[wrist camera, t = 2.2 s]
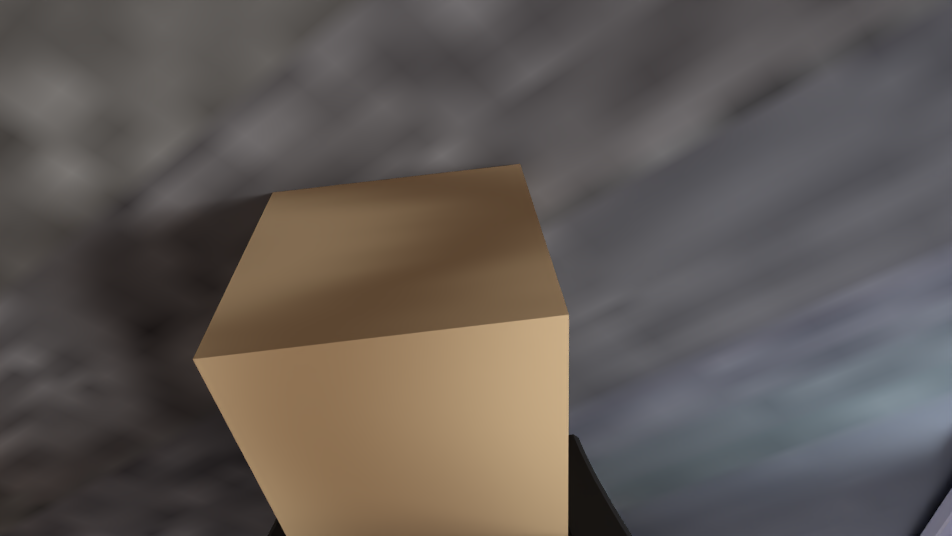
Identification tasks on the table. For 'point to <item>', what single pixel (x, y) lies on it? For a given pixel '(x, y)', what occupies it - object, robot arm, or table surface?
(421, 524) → the oak beam
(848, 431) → the table surface
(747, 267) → the table surface
